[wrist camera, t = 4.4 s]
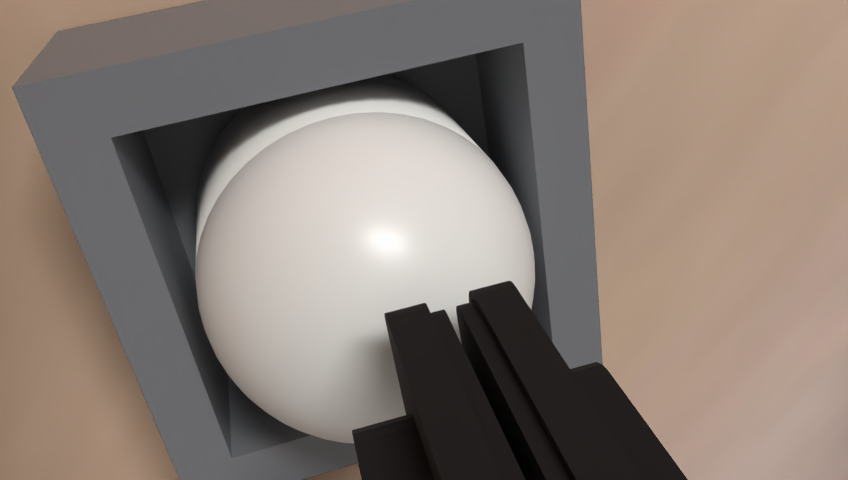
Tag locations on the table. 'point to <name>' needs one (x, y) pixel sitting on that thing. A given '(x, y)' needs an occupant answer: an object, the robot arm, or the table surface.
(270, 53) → the housing
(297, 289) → the white round ball
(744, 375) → the table surface
